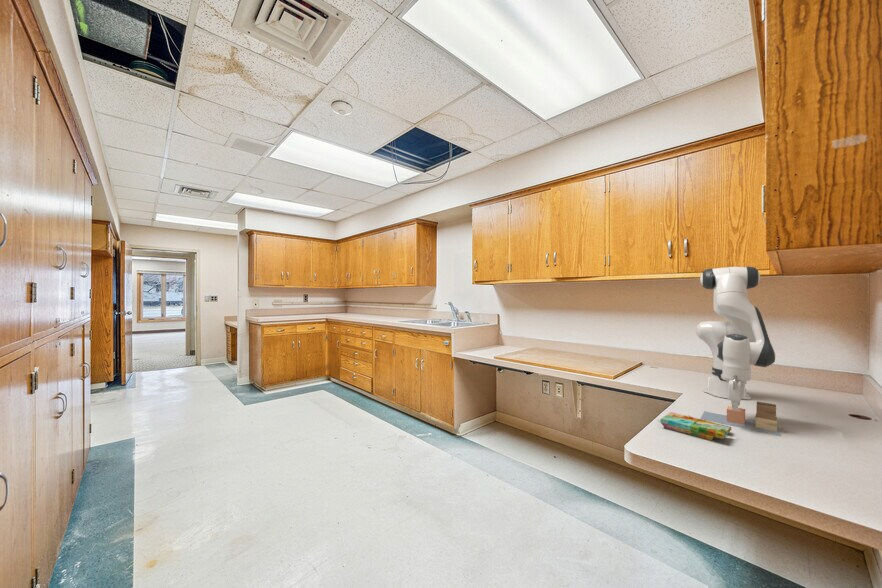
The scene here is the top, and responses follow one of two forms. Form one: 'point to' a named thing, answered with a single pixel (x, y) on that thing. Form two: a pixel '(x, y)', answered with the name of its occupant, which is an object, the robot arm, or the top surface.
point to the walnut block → (766, 411)
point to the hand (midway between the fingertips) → (736, 407)
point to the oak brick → (766, 424)
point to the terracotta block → (736, 415)
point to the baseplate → (748, 423)
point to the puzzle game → (695, 426)
